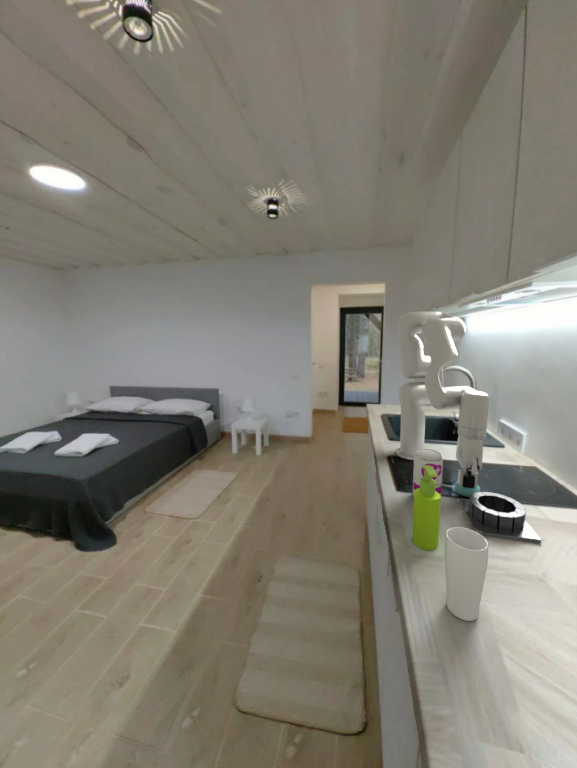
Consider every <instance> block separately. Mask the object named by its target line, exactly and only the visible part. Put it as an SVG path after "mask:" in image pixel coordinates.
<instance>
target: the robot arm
mask: <svg viewBox="0 0 577 768" xmlns="http://www.w3.org/2000/svg"><path fill="white" fill-rule="evenodd" d="M396 327H397V335H398V336H397V337H398V339H399V344H400V350H401V351H400V352H401V353H400V354H401V372H402V375H403V377H404V378H405V379H410V380H415V379H416V380H418V379H419V380H420V379H424V381H411V382H409V381H408V382H406V383H402V385H401V386H400V387H399V390H398V395H399V403H400V433H399V435H400V437H399V438H400V439H399V441H400V442H399V443H400V444H399V448H396V451H395V453H396V455H397V456H398V457H399V458H402V459H404V460H405V459H406V460H410V461H414V455H415V453H416V451H417V450H419V449H425V437H426V435H425V433H426V432H425V430H426V414H425V412H424V410H423V409H422V407H421V406H422V405H431V406H432V407H433V408H434V409H436V410H437V411H452V410H459V411H458V420H457V421H458V424H457V435H458V437H457V442H456V451H455V458H456V460H457V461H458V464H459V465H460V467H461V468H460V469H465V475H463V487H465V488H474V485H475V477H476V476H477V472H478V471H480V470H482V467H483V458H484V457H483V454H484V450H483V449H484V441H483V440H484V439H486V438H487V428H488V427H487V426H488V418H489V409H490V408H489V407H490V406H489V405H490V396H489V394H488V393H486V392H484V391H480V390H476V389H474V388H472V387H470V386H468V385H459V386H458V385H457V386H456V385H455V386H445V384H444V367H446V366H448V365H449V366H450V364H452V363H454V362H455V361H457V359H458V358H459V353H458V351H457V348H456V346H455V342H458V341H461V340H463V338H464V337H465V335H466V325H465V323H464V321H463V320H462V319H461V318H459V317H457V316H454V315H452V314H450V313H448V312H447V313H446V312H443V311H440V310H439V311H434V310H433V311H411V312H406V313H404V314H402V315H401V316H400V318H399V319H398V321H397V326H396ZM418 334H422V336H423V338H424V343H425V346H426V348H427V353H428V355H425V354H424V353H425V351H424V343H423V342H422V339H420V337H419V336H418ZM468 470H471V471H468Z"/></svg>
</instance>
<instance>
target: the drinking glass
mask: <svg viewBox="0 0 577 768" xmlns="http://www.w3.org/2000/svg"><path fill="white" fill-rule="evenodd" d="M488 562H489V543H488V540H487V539H486V538H485V536H482V535H481V534H479V533H477V532H475V531H474V530H473V529H470V528H467V527H462V526H454V527H449V528H448V529H447V530H446V533H445V541H444V566H445V567H444V568H445V585H446V586H445V593H446V594H445V595H446V596H445V597H446V598H445V603H446V607H447V608H448V610H449V612H450V613H451V614H452V615H453V616H455V617H456V618H458V619H460V620H462V621H465V622H473V621H475V620H477V619H478V617H479V615H480V605H481V600H482V595H483V589H484V584H485V579H486V574H487V570H488Z"/></svg>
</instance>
